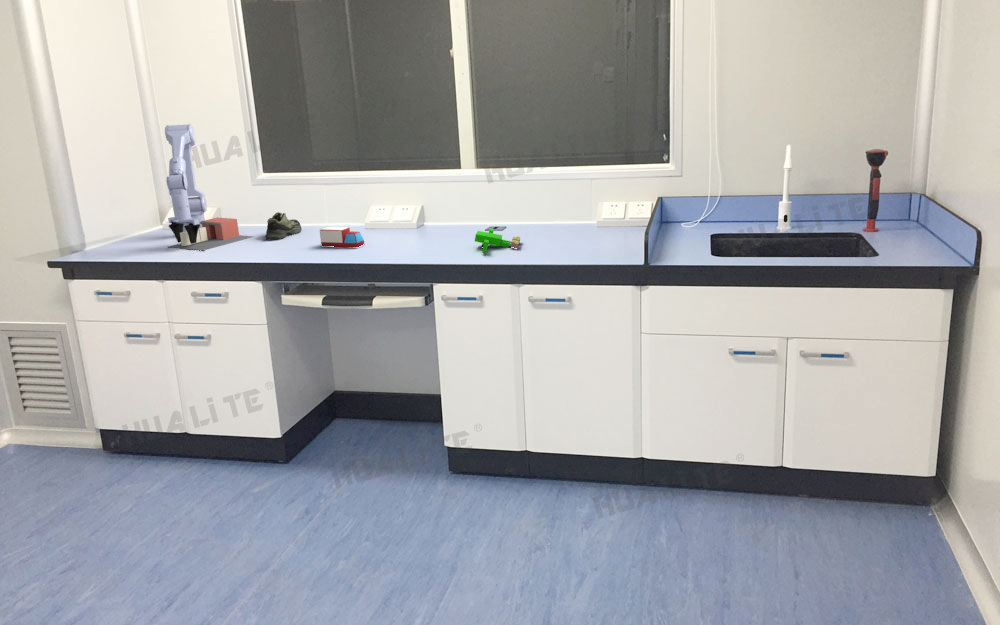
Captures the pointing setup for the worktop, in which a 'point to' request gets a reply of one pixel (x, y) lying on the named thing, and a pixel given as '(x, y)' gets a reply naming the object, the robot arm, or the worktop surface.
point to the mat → (209, 243)
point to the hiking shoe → (281, 227)
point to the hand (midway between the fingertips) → (187, 242)
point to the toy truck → (340, 237)
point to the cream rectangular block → (200, 236)
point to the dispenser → (221, 228)
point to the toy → (494, 240)
